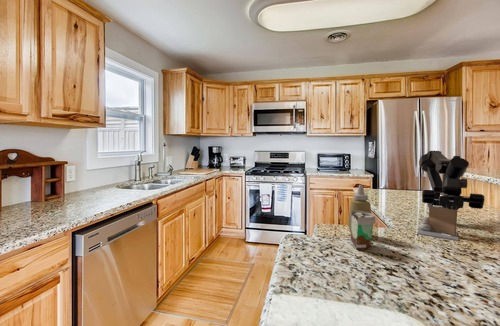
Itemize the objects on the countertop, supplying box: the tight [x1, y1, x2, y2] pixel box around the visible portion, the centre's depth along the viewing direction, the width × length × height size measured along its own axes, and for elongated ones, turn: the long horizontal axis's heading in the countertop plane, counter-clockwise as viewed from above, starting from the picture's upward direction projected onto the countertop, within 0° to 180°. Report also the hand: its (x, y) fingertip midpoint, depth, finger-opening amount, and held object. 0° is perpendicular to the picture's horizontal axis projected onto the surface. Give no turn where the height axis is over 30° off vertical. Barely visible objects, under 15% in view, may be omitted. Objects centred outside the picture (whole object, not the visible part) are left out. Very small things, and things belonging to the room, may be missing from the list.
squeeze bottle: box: [347, 184, 372, 234], centre depth 94 cm, size 8×8×18 cm
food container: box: [350, 210, 376, 251], centre depth 82 cm, size 12×6×10 cm, turn 168°
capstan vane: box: [419, 206, 458, 235], centre depth 98 cm, size 4×12×9 cm, turn 32°
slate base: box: [417, 225, 460, 242], centre depth 99 cm, size 14×12×1 cm
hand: (451, 216), depth 96 cm, fingers closed
